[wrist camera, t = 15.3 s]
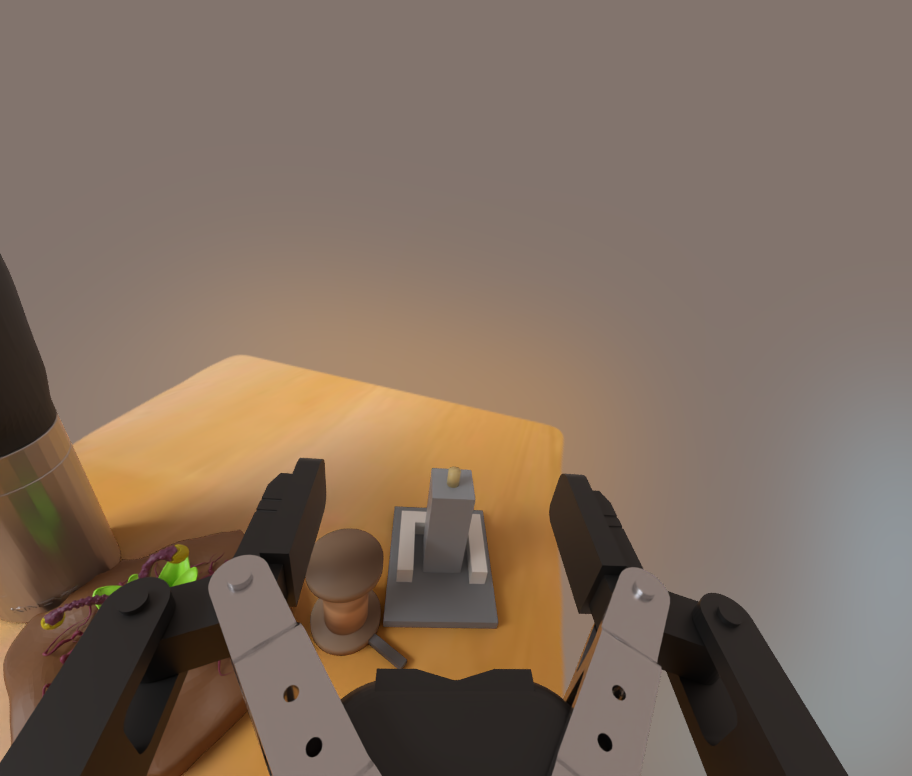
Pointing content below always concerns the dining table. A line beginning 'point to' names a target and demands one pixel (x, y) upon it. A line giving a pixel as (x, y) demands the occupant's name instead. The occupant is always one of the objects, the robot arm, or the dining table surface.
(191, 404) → the dining table surface
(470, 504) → the gray block with knob
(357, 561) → the bobbin
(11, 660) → the plant
